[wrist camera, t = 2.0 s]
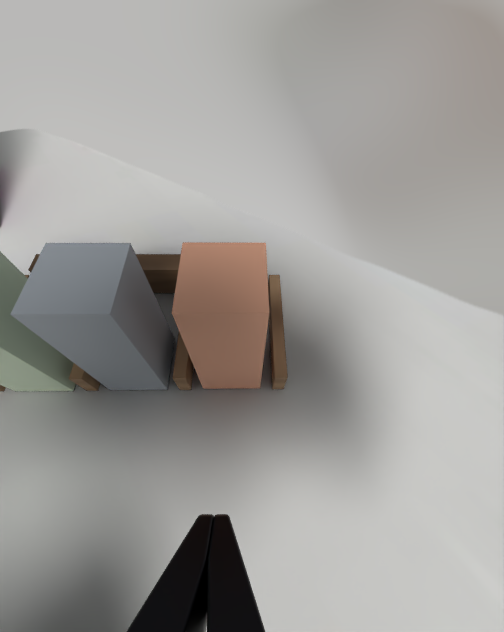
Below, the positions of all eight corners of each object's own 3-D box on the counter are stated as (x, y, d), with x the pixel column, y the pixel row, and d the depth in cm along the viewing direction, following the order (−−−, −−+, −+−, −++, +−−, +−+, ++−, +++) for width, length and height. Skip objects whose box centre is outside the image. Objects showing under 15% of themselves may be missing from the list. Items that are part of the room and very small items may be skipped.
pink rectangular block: (260, 388, 20) (269, 312, 12) (203, 388, 20) (171, 313, 12) (258, 337, 23) (265, 242, 14) (207, 337, 23) (182, 242, 14)
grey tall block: (167, 389, 20) (110, 314, 12) (109, 390, 20) (10, 314, 12) (174, 338, 22) (130, 243, 14) (122, 338, 22) (45, 242, 14)
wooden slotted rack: (283, 389, 21) (288, 374, 18) (-8, 391, 20) (-45, 376, 18) (275, 278, 26) (279, 254, 23) (44, 278, 25) (21, 254, 23)
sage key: (73, 390, 20) (-53, 315, 12) (15, 391, 20) (-156, 315, 12) (89, 339, 22) (-8, 243, 14) (36, 339, 22) (-95, 243, 14)
